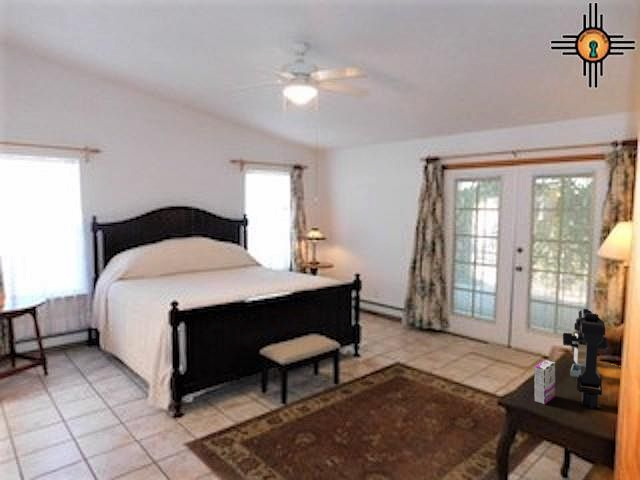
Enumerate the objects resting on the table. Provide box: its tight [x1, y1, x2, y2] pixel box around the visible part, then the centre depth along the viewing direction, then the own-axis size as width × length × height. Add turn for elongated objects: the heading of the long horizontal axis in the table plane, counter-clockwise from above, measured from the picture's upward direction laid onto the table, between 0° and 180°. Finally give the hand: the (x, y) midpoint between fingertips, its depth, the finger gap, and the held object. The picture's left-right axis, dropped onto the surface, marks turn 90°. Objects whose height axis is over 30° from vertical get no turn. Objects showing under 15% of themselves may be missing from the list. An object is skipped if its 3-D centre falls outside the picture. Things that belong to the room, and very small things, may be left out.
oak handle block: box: [577, 343, 586, 364], centre depth 217 cm, size 5×5×13 cm
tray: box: [569, 363, 585, 378], centre depth 218 cm, size 10×10×3 cm
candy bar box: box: [533, 359, 556, 405], centre depth 193 cm, size 11×5×16 cm, turn 129°
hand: (583, 348), depth 218 cm, fingers closed on oak handle block, 5 cm apart
